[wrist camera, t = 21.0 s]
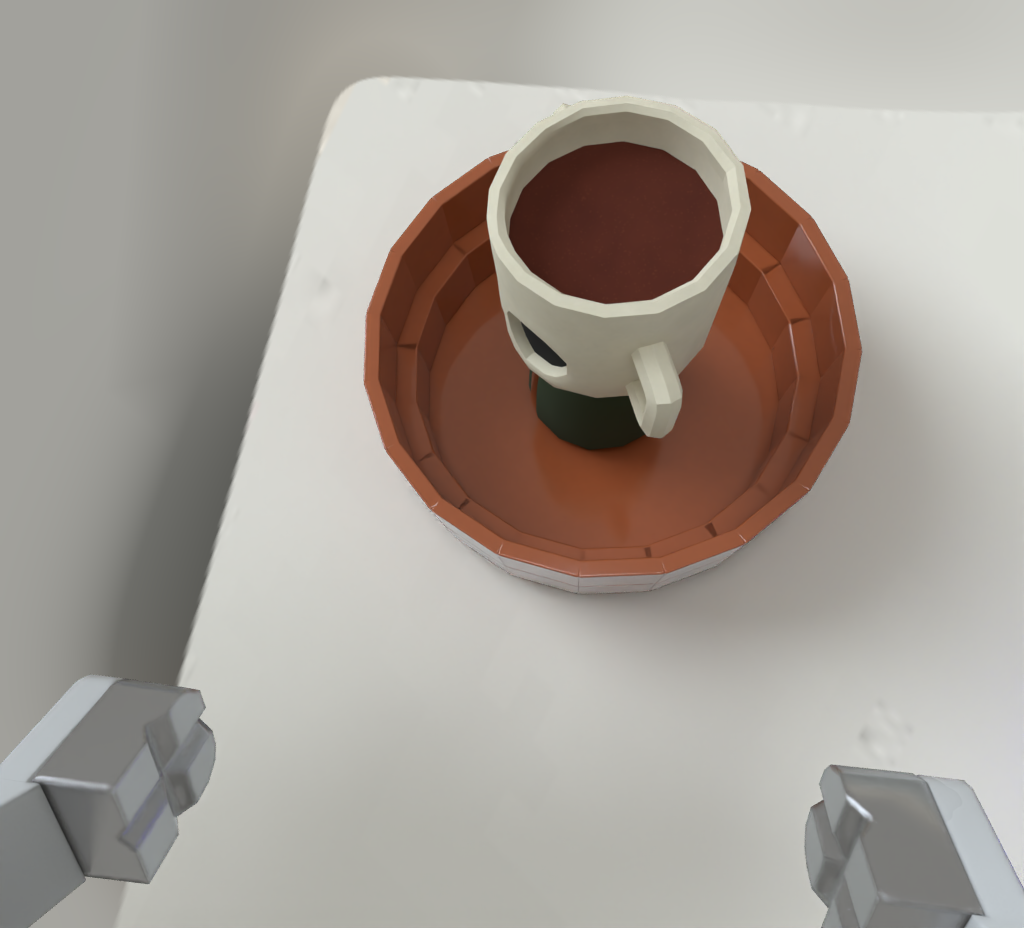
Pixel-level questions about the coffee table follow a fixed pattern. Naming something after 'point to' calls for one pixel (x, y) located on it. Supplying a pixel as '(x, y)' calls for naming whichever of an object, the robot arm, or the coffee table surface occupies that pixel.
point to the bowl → (618, 470)
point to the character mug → (614, 260)
